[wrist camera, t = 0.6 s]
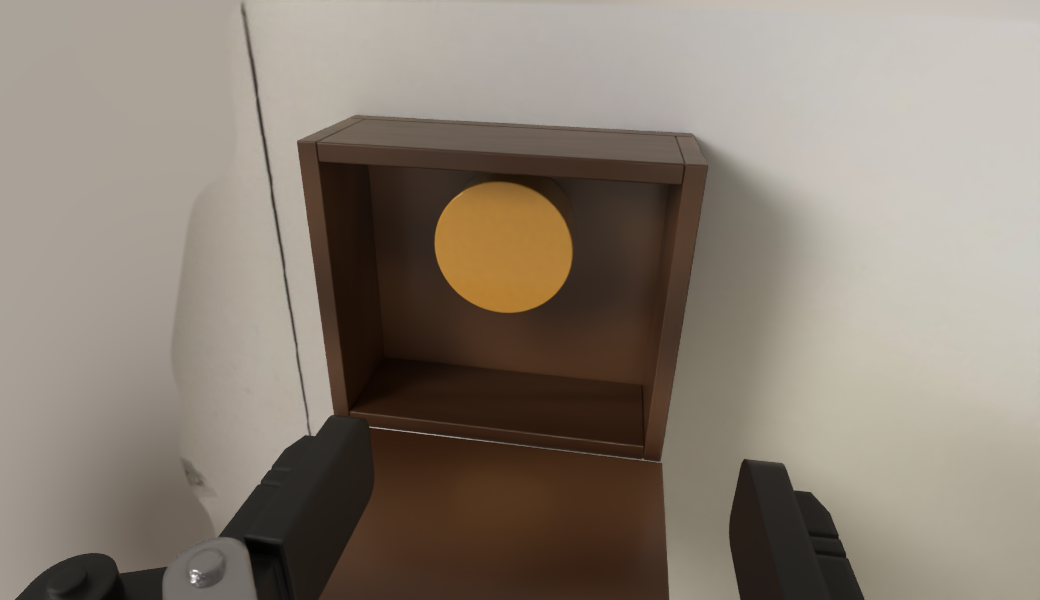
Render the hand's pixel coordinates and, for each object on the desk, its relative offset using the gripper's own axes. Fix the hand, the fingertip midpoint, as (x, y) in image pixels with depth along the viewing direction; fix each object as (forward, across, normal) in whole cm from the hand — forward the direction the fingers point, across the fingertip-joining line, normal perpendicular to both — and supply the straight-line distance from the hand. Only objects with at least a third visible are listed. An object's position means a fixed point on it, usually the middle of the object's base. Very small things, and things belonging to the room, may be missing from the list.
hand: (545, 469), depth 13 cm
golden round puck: (+17, +4, +1) cm, 18 cm away
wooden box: (+18, +4, +3) cm, 19 cm away
